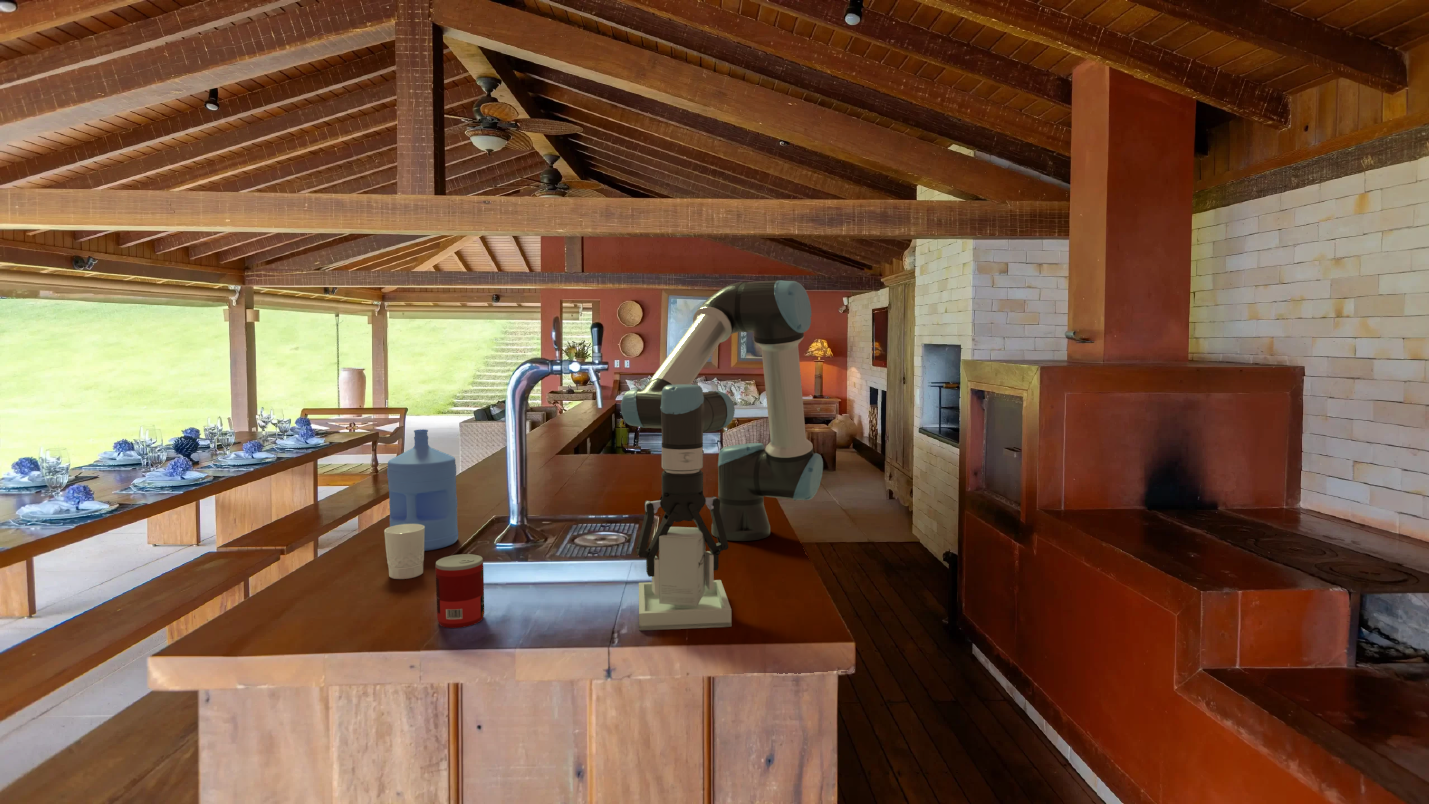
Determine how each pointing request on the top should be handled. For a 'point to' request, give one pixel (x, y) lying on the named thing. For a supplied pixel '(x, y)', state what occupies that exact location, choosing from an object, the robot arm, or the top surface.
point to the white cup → (405, 550)
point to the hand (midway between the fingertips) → (682, 590)
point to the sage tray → (684, 610)
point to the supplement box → (682, 566)
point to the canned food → (460, 590)
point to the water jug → (424, 492)
